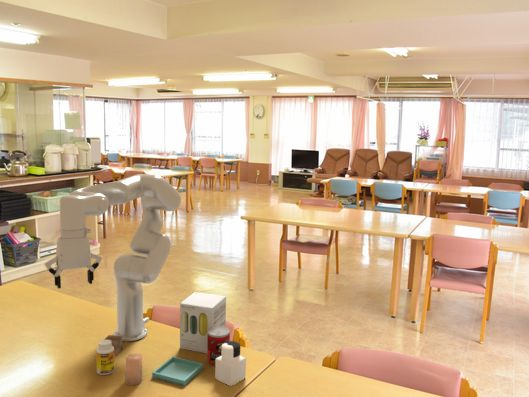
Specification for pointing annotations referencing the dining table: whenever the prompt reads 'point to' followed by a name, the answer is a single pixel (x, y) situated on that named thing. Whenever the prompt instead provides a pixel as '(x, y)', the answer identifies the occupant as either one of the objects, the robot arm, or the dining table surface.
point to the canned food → (216, 342)
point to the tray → (177, 371)
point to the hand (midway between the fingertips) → (74, 284)
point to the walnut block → (115, 343)
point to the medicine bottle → (230, 364)
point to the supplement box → (200, 319)
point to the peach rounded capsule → (133, 369)
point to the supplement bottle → (105, 357)
